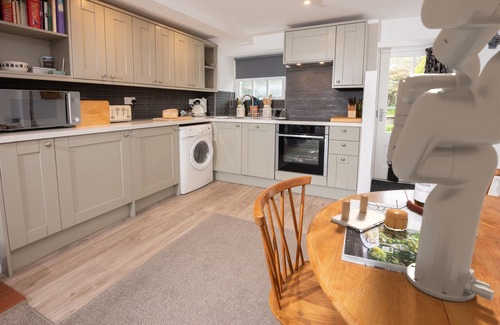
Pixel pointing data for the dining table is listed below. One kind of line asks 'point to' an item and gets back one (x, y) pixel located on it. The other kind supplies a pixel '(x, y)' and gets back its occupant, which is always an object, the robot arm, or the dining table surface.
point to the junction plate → (358, 215)
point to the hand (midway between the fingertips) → (400, 179)
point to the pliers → (414, 207)
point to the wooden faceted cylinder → (396, 219)
